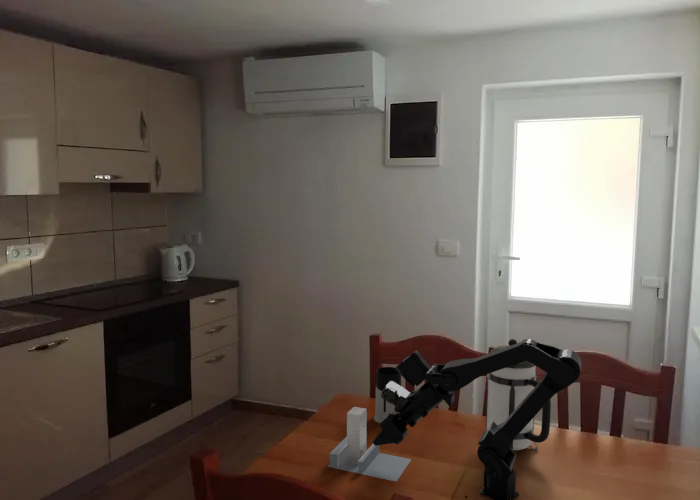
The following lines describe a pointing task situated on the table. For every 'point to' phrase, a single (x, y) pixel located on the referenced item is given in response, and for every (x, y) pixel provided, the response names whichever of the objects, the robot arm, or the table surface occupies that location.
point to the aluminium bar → (356, 434)
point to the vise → (369, 462)
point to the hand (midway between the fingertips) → (380, 436)
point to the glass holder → (382, 380)
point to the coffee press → (514, 400)
